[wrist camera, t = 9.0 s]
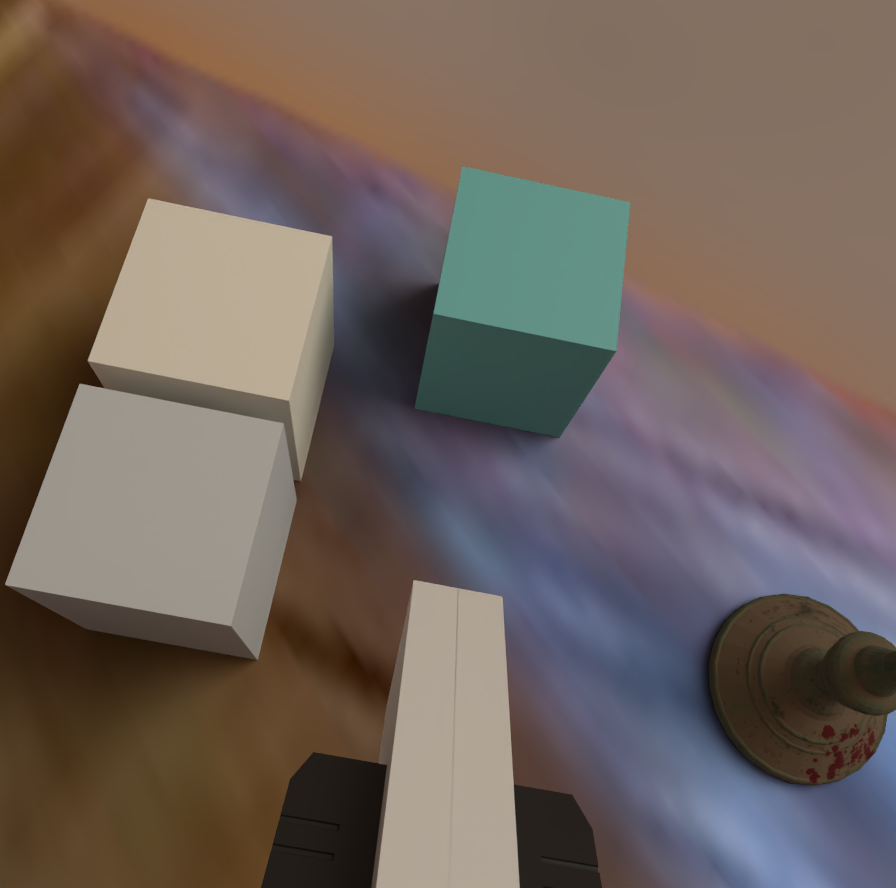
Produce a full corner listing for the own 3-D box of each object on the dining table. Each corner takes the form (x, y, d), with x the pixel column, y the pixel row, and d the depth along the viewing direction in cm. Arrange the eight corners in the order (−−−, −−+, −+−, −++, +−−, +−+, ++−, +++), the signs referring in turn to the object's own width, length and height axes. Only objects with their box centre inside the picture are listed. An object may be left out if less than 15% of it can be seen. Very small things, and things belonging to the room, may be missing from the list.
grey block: (257, 660, 39) (231, 625, 29) (86, 629, 38) (4, 584, 29) (296, 500, 42) (283, 423, 32) (138, 469, 41) (79, 383, 32)
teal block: (559, 437, 45) (616, 351, 35) (414, 408, 44) (433, 313, 35) (574, 312, 48) (630, 202, 38) (438, 284, 47) (462, 166, 38)
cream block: (300, 481, 42) (289, 400, 33) (144, 451, 42) (87, 361, 32) (334, 345, 45) (332, 236, 36) (188, 316, 45) (148, 198, 35)
